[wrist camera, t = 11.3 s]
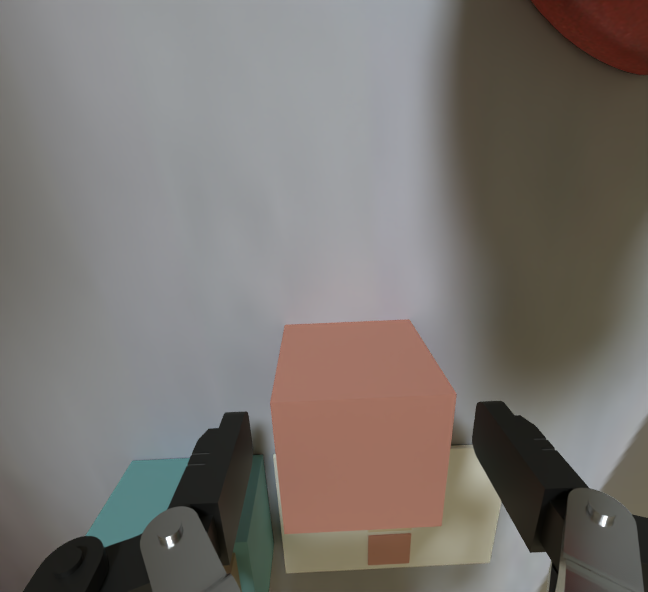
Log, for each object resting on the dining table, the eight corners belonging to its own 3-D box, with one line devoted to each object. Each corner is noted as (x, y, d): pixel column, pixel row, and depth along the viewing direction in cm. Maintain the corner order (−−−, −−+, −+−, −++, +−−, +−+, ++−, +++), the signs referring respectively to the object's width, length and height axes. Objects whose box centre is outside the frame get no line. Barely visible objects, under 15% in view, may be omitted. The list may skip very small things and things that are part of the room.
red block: (284, 323, 14) (270, 402, 9) (408, 318, 14) (456, 393, 9) (293, 424, 16) (284, 534, 11) (403, 419, 16) (441, 526, 11)
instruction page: (273, 453, 16) (273, 458, 16) (509, 442, 16) (512, 447, 16) (286, 569, 19) (285, 574, 19) (487, 559, 19) (490, 563, 19)
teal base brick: (132, 460, 16) (76, 550, 12) (262, 454, 16) (247, 541, 12) (158, 550, 18) (117, 650, 14) (273, 544, 18) (263, 642, 14)
